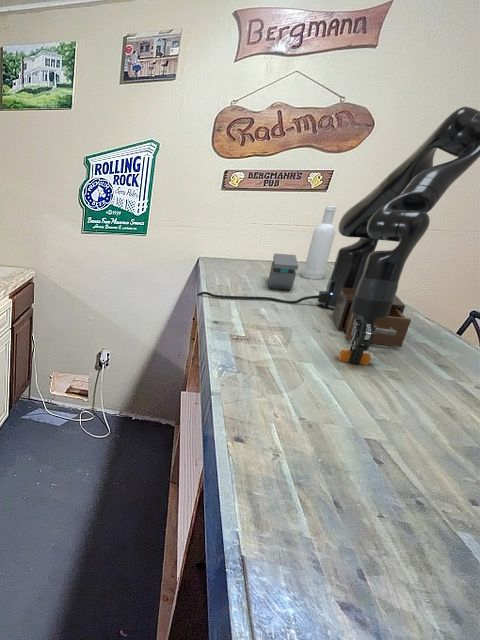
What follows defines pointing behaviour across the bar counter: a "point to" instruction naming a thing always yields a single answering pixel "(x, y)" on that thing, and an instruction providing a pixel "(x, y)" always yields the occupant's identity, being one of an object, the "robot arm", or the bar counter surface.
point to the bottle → (320, 246)
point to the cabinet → (347, 297)
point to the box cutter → (346, 354)
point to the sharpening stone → (283, 271)
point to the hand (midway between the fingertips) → (352, 361)
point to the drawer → (383, 327)
